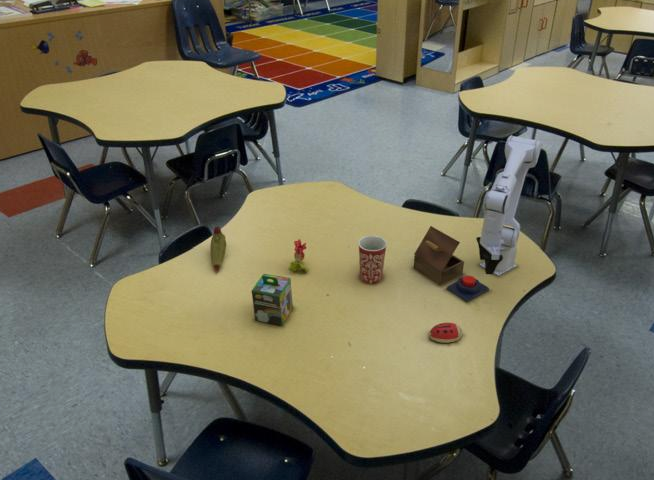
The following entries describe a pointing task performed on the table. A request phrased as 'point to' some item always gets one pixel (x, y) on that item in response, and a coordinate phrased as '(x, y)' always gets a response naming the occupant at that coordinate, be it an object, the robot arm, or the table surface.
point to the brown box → (448, 274)
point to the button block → (467, 290)
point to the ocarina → (217, 248)
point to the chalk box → (272, 299)
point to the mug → (371, 258)
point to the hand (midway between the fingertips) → (486, 266)
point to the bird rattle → (298, 257)
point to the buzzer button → (468, 281)
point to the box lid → (436, 248)
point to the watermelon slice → (446, 332)
